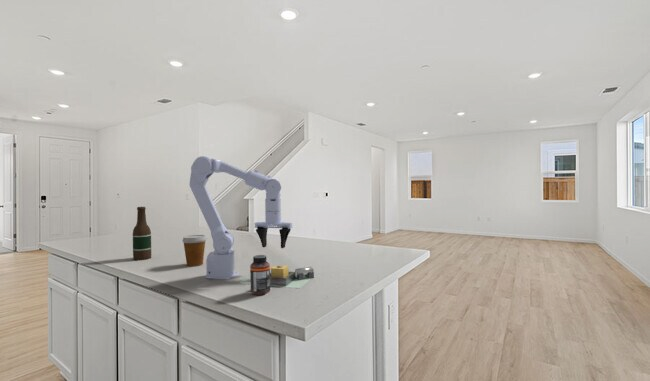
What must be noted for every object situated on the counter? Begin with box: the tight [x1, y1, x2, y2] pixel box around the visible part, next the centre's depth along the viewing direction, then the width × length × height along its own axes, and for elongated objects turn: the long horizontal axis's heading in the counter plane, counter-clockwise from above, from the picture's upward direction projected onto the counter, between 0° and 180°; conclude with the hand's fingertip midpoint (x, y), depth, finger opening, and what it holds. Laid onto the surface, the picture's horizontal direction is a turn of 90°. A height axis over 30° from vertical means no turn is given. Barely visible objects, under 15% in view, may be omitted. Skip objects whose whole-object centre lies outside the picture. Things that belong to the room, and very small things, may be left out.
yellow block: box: [270, 264, 290, 278], centre depth 111 cm, size 4×4×5 cm
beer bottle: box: [132, 206, 152, 261], centre depth 151 cm, size 8×8×24 cm
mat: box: [238, 271, 316, 289], centre depth 114 cm, size 22×16×1 cm
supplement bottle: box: [249, 254, 271, 296], centre depth 101 cm, size 6×6×11 cm
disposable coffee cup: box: [182, 234, 208, 267], centre depth 138 cm, size 10×10×12 cm
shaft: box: [294, 266, 315, 280], centre depth 115 cm, size 6×4×4 cm, turn 119°
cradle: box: [270, 271, 296, 286], centre depth 111 cm, size 8×8×3 cm
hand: (273, 247), depth 122 cm, fingers open, 7 cm apart
